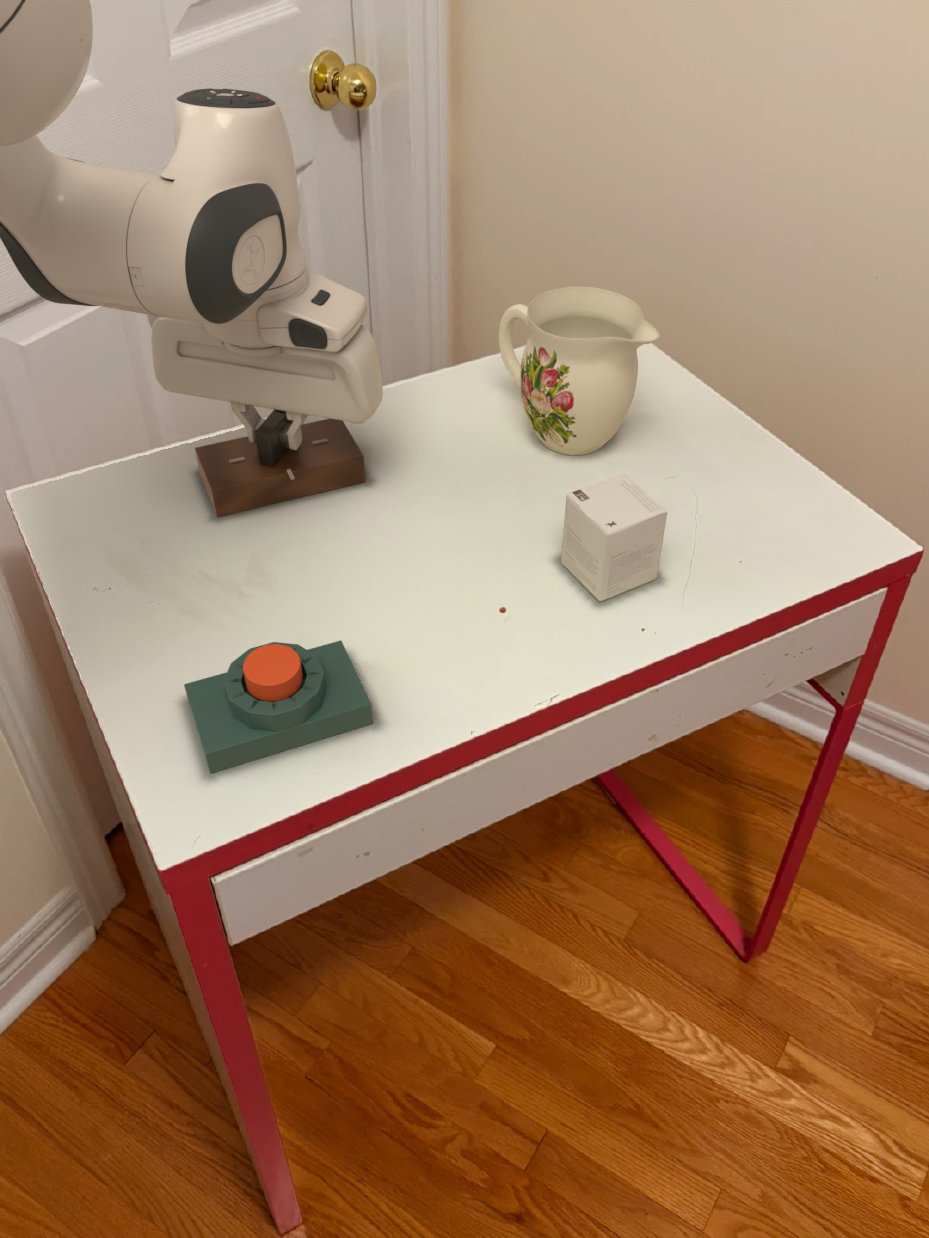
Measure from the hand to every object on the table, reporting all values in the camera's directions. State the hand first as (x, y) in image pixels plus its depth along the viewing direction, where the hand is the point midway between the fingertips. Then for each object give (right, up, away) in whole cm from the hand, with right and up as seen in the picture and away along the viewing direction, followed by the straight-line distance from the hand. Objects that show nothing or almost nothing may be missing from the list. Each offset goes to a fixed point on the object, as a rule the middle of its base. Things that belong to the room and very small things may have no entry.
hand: (276, 443), depth 95 cm
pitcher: (+27, +2, +9) cm, 29 cm away
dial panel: (0, -3, +3) cm, 4 cm away
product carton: (+29, -12, -6) cm, 32 cm away
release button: (+4, -20, -20) cm, 29 cm away
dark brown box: (0, -1, +1) cm, 1 cm away
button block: (+4, -23, -18) cm, 29 cm away
